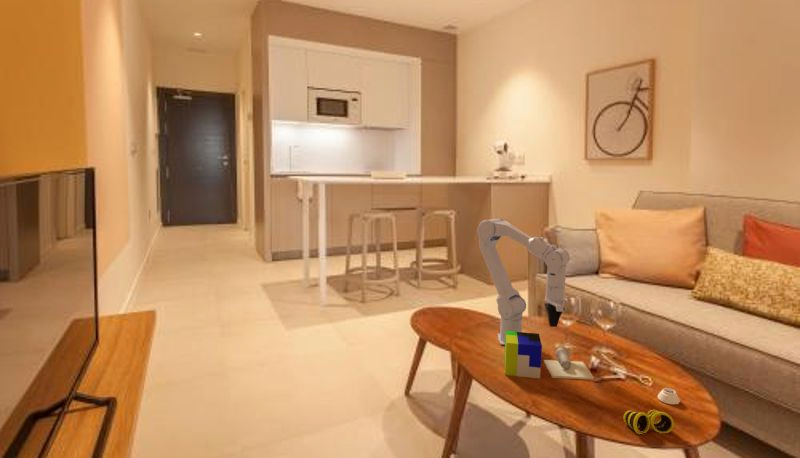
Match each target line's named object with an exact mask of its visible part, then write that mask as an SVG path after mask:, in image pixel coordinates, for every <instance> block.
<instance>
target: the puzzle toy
mask: <svg viewBox="0 0 800 458" xmlns="http://www.w3.org/2000/svg"><path fill="white" fill-rule="evenodd" d="M542 351H543V345H542V341H541V336H540V334H539V333H534V332H523V331H522V332H512V331H506V337H505V345H504V359H503V360H504V375H505V376H511V377H512V376H513V377H514V376H515V377H524V378H534V379H541V367H542V355H543V354H542Z"/></svg>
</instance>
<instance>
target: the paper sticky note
mask: <svg viewBox="0 0 800 458" xmlns="http://www.w3.org/2000/svg"><path fill="white" fill-rule="evenodd" d="M570 361H571V363H572V364H571V367H570V368H569V369H564V368H562V367H561V365H560V361H559V360H555V359H554V360H553V359H543V363H544V365H545V367H546V368H547V371H548V373H549V374H550V376H551V378H552V379H553V378H554V379H568V380H570V379H571V380H572V379H573V380H590V381H591V380H592V381H593V380H595V377H594V376H593V374H592V373H591V371H590V369H589V368H588V367H587V365H586V364H585V362H583V361H575V360H573V361H572V360H570Z"/></svg>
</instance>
